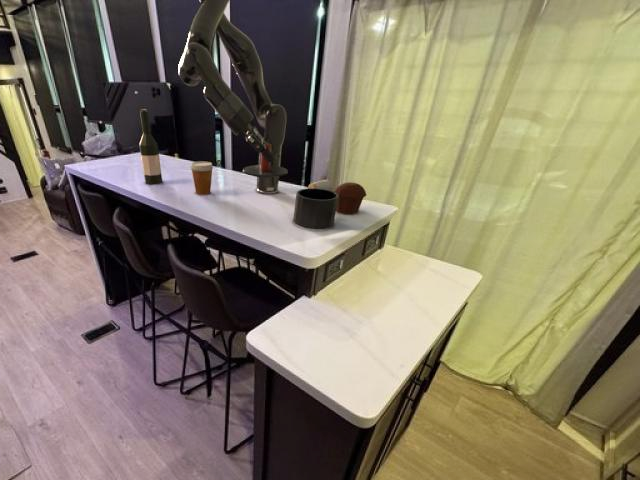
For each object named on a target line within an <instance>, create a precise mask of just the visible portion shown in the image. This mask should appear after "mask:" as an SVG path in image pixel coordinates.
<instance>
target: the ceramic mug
mask: <svg viewBox="0 0 640 480" xmlns="http://www.w3.org/2000/svg"><path fill="white" fill-rule="evenodd" d="M308 188H317V189H326V190H330V191H333V192H334V187H333V184H332V182H331V181H330V180H329V179H322V180H318V181H314V182H311V183H310V184H309V185H308V186H307V189H308Z"/></svg>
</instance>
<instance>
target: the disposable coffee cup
mask: <svg viewBox="0 0 640 480" xmlns="http://www.w3.org/2000/svg"><path fill="white" fill-rule="evenodd" d="M189 168H190V170H191V173H192V179H193V185H194V189H195V190H194V191H195V194H196V195H199V196H205V195H210V194H211V189H212V178H213V177H212V176H213V169H214V166H213V163H212V162H210V161H194V162H191V164H190V167H189Z"/></svg>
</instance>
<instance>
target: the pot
mask: <svg viewBox="0 0 640 480" xmlns="http://www.w3.org/2000/svg"><path fill="white" fill-rule="evenodd" d="M295 195H296V196H295V203H294V212H293V219H292V222H293V223H294V224H295V225H297V226H298V227H300V228H303V229H309V230H325V229H330V228H331V227H333V226H334V223H335V219H336V213H337V211H336V208H337V203H338V198H339V195H338V194H337V193H336V192H334V190H333V191H330V190H326V189H317V188H308V187H307V188H302V189H299V190H296V193H295Z"/></svg>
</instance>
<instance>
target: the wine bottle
mask: <svg viewBox="0 0 640 480" xmlns="http://www.w3.org/2000/svg"><path fill="white" fill-rule="evenodd" d="M139 115H140V121H141V122H140V123H141V128H142V136H141V138H140V141H139V152H140V158H141V164H142V171H143V177H144V183H145V185H151V186H154V185H161V184H163V182H164V181H163V175H162V167H161V159H160V153H159V151H160V150H159V145H158V143H157V141H156V140H155V138H154V137H153V135H152V133H151V125H150V124H151V123H150V118H149V117H150V116H149V112H148V110H147V109H145V108H144V109H142V108H141V109H140V111H139Z"/></svg>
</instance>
